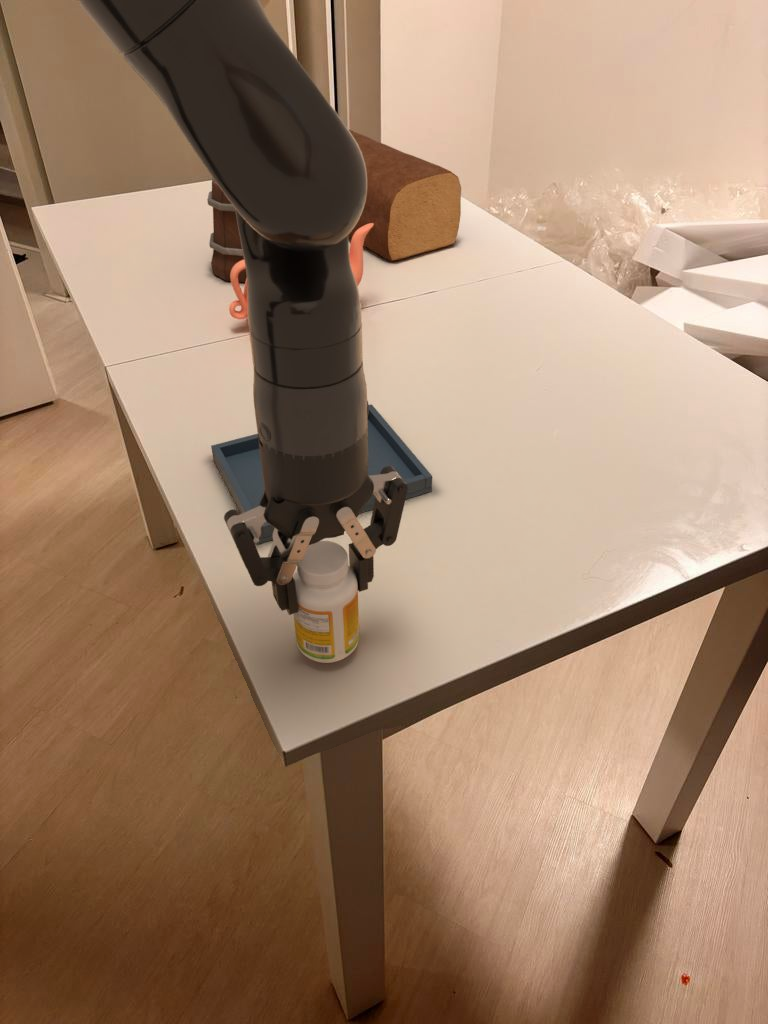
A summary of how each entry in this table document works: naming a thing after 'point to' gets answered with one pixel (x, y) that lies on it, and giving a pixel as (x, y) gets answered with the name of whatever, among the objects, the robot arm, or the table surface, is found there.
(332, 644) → the supplement bottle
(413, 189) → the bread
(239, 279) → the mug
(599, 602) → the table surface
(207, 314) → the table surface
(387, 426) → the tray
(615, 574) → the table surface
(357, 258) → the teapot
